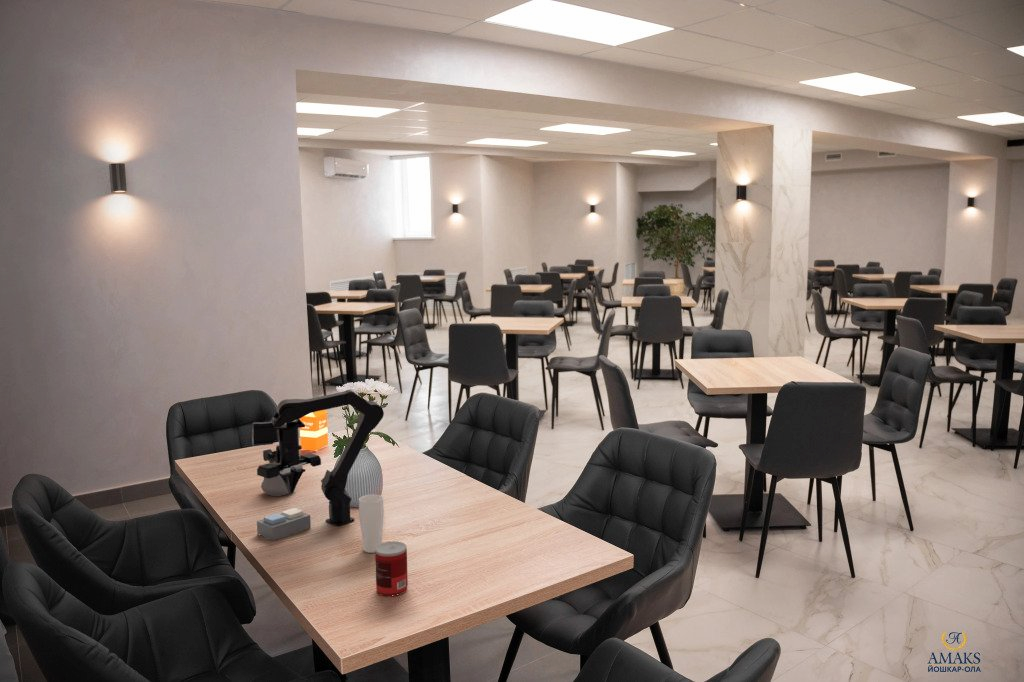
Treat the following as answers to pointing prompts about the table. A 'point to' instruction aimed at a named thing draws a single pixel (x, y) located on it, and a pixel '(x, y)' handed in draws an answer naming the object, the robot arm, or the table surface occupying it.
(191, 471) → the table surface
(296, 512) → the cream key
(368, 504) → the drinking glass
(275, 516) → the blue key
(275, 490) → the coffee pot
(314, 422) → the orange juice
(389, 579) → the canned food
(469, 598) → the table surface
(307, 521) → the key block
